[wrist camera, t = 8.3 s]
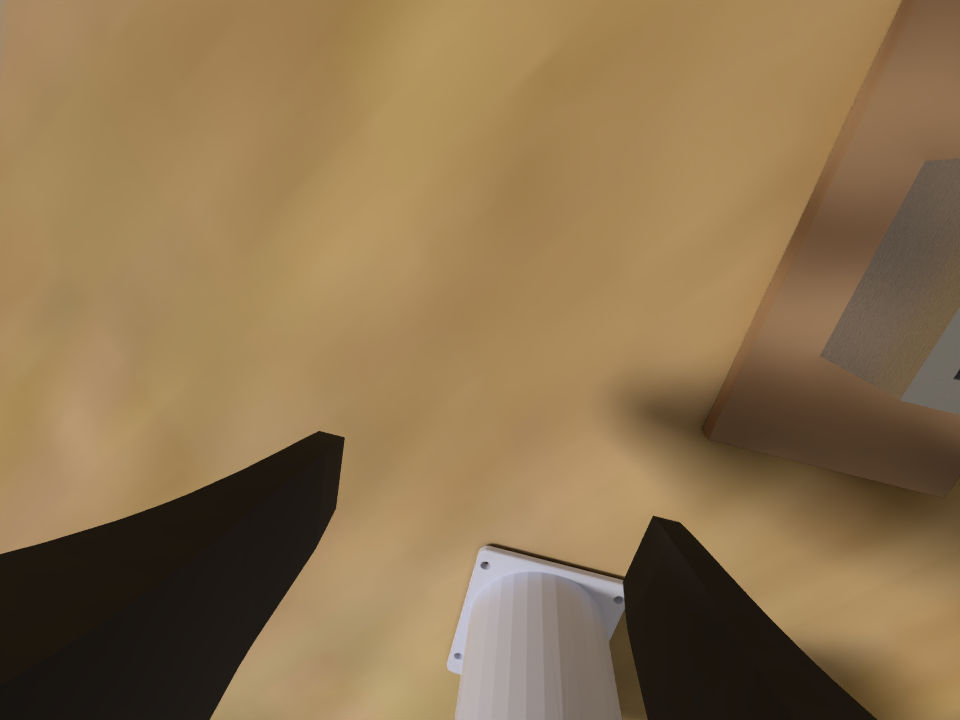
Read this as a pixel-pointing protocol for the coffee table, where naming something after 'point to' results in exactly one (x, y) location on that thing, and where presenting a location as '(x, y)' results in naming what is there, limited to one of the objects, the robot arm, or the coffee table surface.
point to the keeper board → (853, 280)
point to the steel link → (910, 299)
